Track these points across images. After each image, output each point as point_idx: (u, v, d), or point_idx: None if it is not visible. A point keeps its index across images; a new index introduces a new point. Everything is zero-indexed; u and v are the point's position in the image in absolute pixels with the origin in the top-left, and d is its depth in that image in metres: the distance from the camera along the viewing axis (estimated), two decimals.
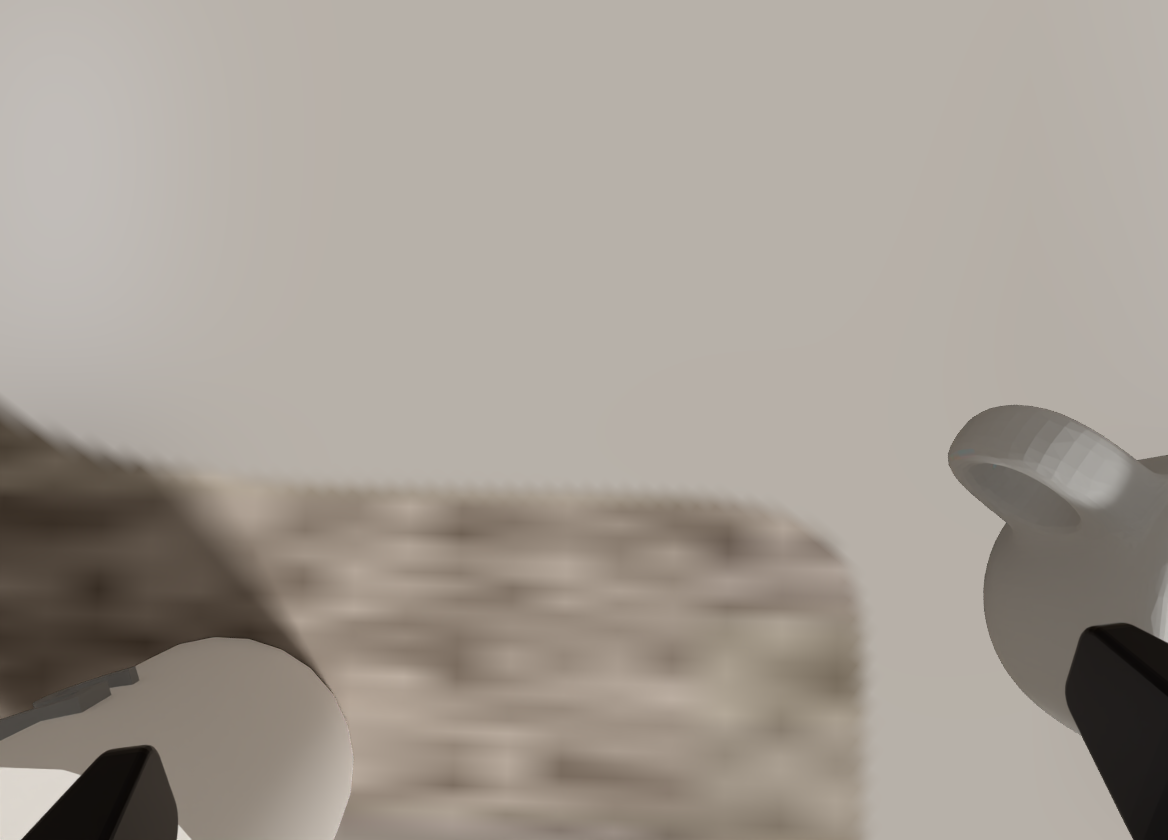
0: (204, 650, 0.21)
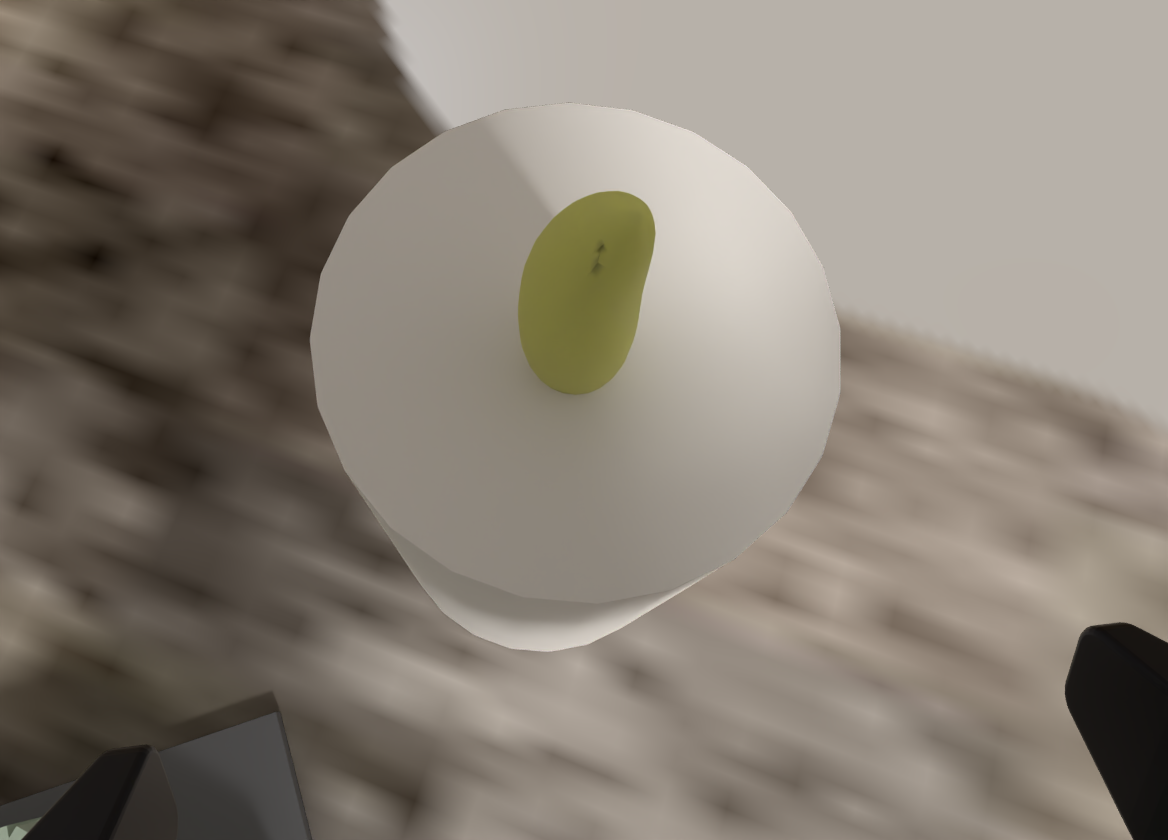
0: None
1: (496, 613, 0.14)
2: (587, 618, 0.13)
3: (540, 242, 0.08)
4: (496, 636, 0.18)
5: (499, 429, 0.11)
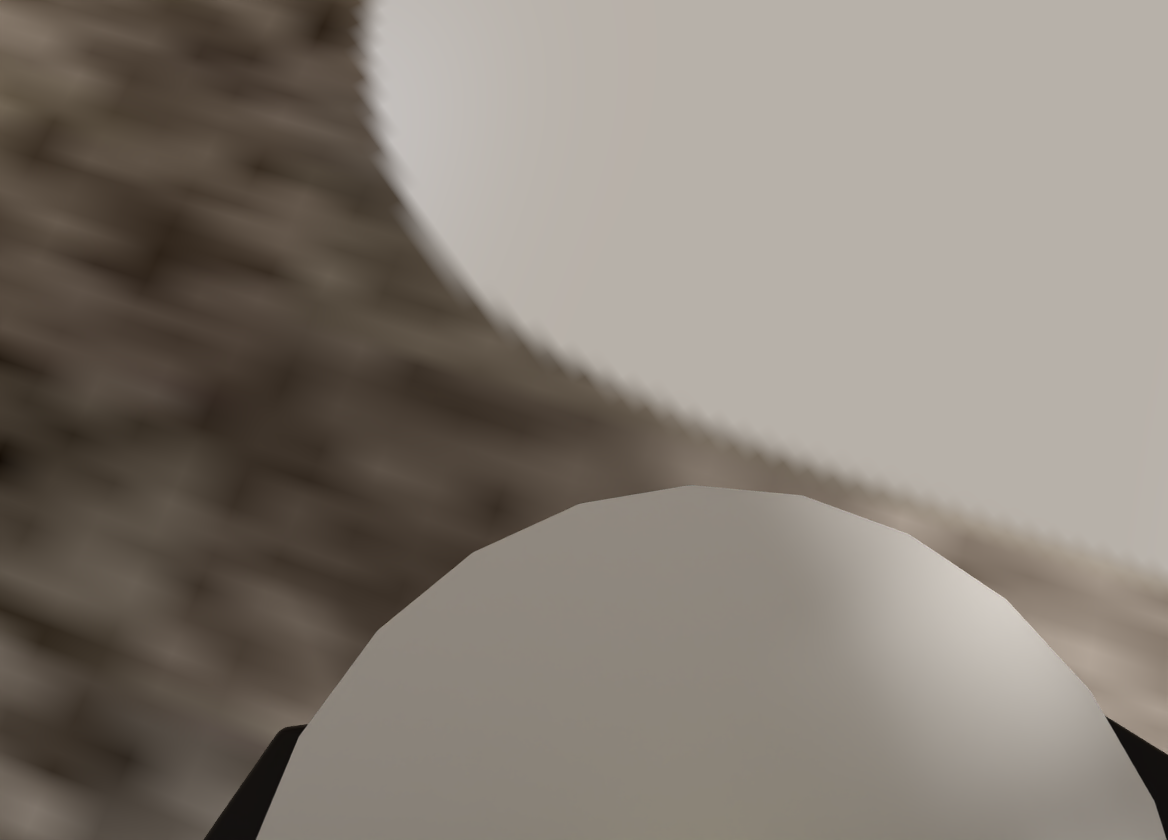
0: None
1: None
2: None
3: None
4: None
5: None
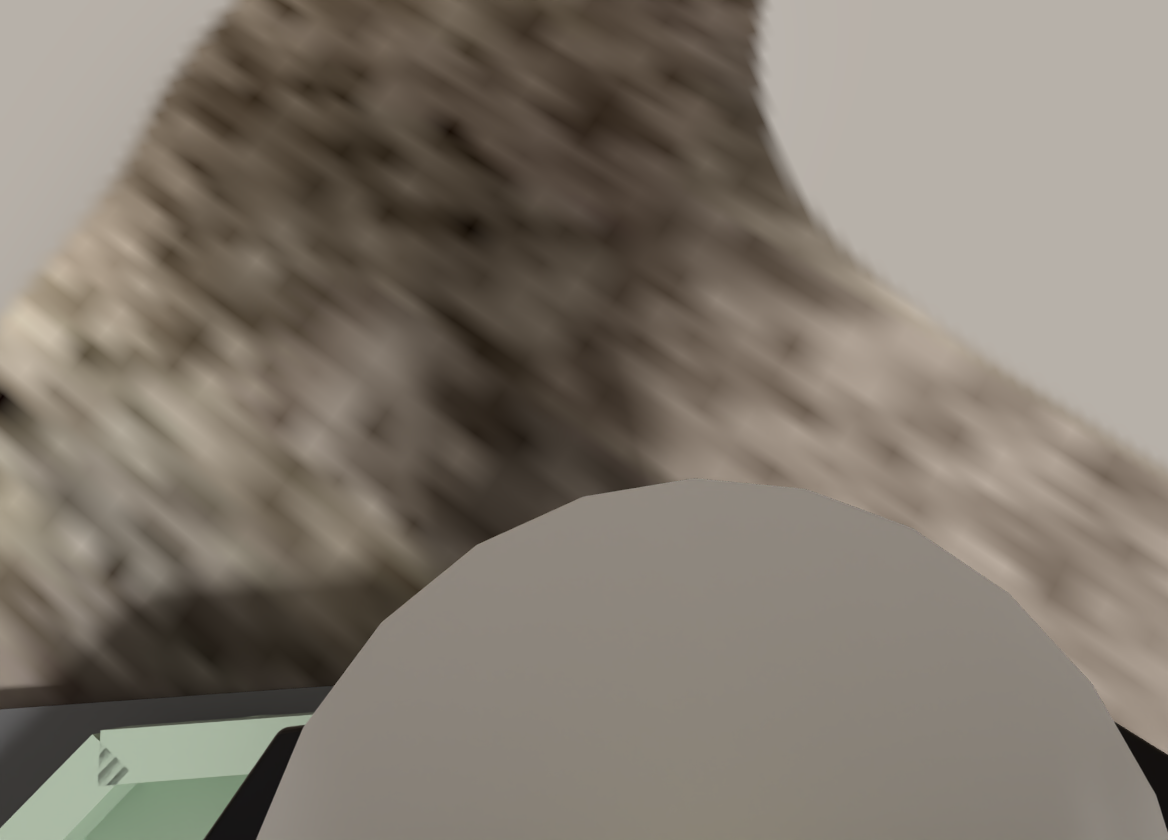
0: None
1: None
2: None
3: None
4: None
5: None
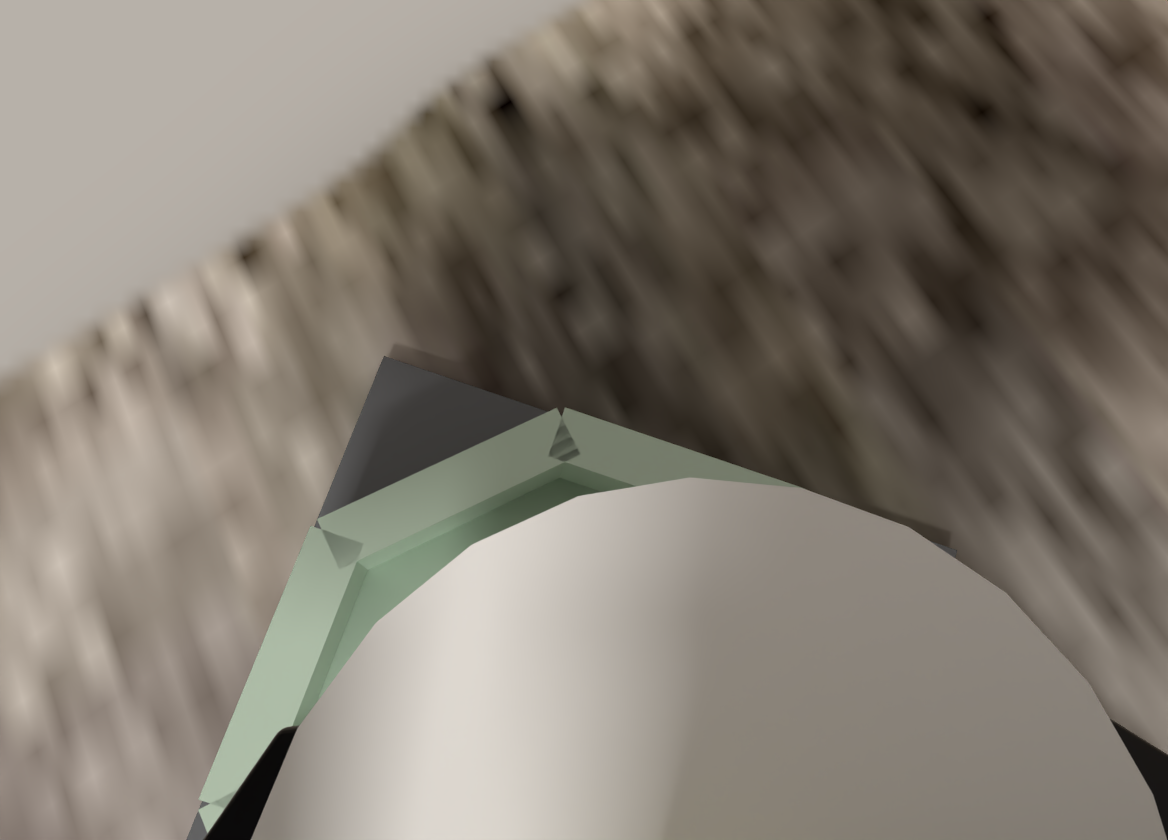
0: None
1: None
2: None
3: None
4: None
5: None
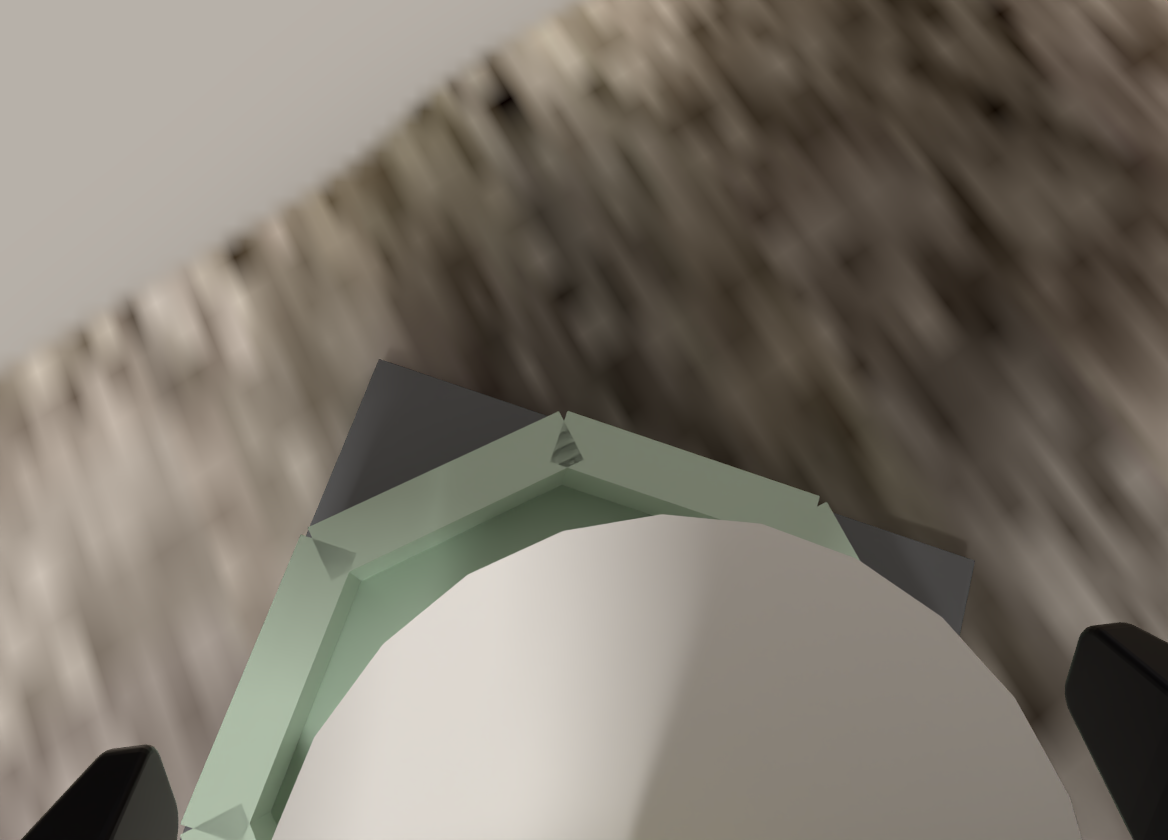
0: None
1: None
2: None
3: None
4: None
5: None
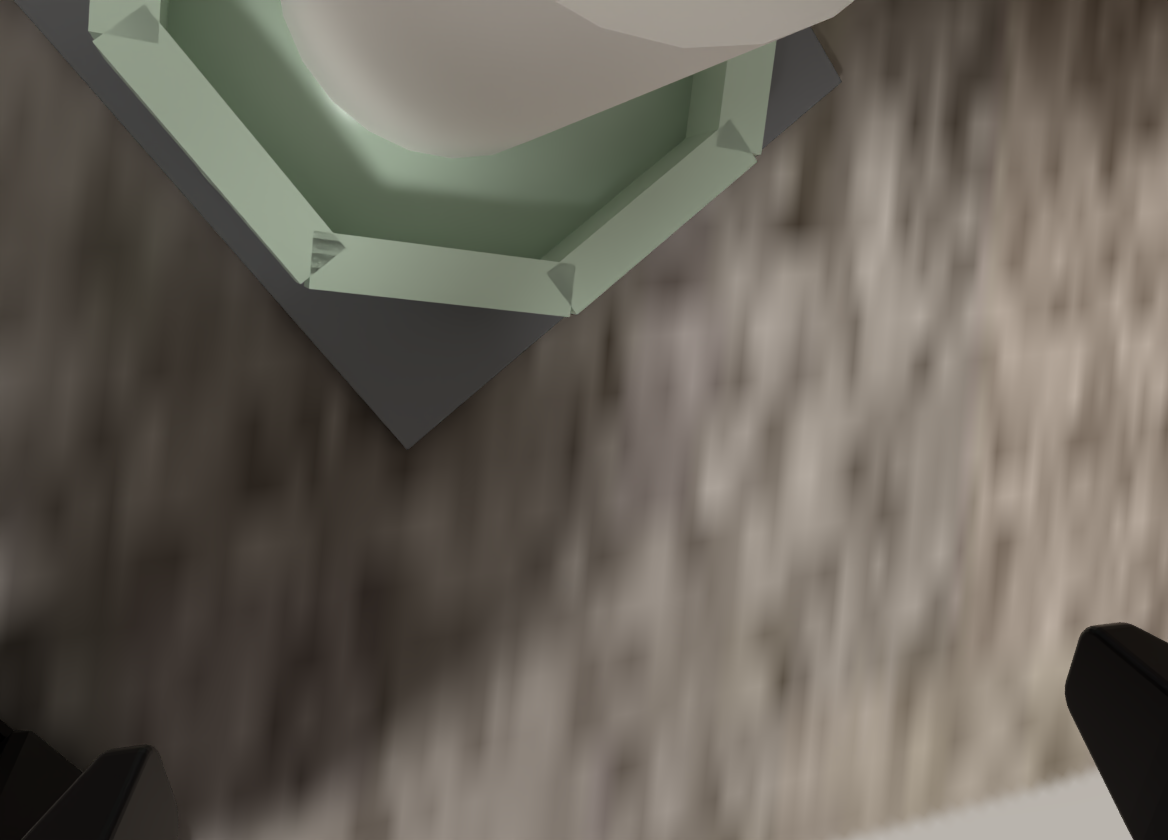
0: None
1: None
2: (471, 38, 0.10)
3: None
4: (331, 61, 0.15)
5: None
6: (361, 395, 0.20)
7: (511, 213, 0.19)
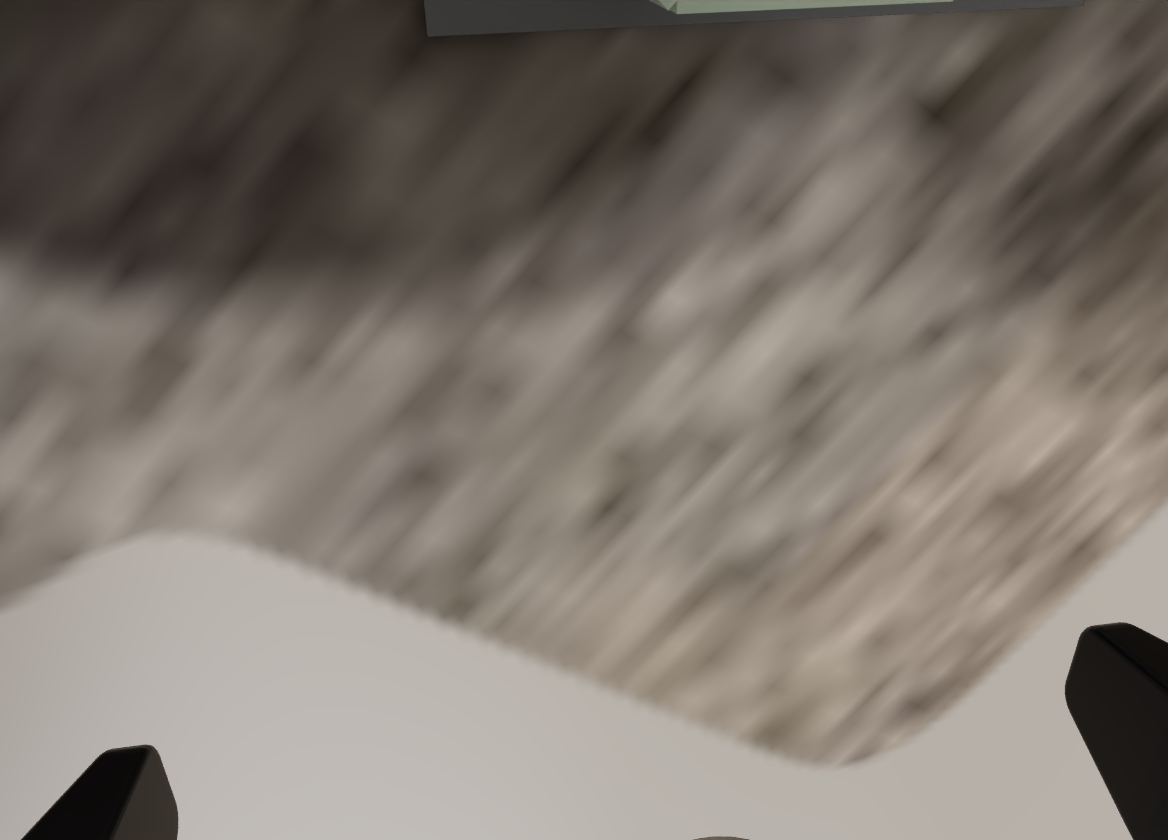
0: None
1: None
2: None
3: None
4: None
5: None
6: None
7: None
